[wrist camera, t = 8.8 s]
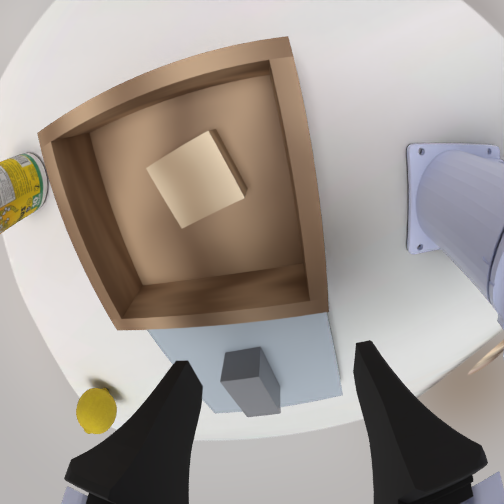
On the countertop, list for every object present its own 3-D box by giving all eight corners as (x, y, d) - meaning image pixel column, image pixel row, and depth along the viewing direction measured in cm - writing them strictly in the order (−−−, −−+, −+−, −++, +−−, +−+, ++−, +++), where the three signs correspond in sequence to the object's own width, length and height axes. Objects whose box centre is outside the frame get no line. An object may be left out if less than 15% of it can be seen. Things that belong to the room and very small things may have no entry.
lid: (316, 270, 20) (328, 320, 15) (339, 376, 26) (346, 419, 21) (155, 308, 22) (132, 354, 18) (218, 395, 28) (211, 435, 24)
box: (282, 59, 13) (288, 36, 8) (316, 266, 19) (328, 311, 15) (84, 123, 15) (37, 133, 10) (142, 289, 21) (117, 330, 17)
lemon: (85, 371, 29) (62, 416, 22) (120, 385, 29) (100, 434, 22) (94, 391, 32) (75, 432, 25) (126, 404, 32) (109, 447, 25)
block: (215, 129, 14) (208, 130, 12) (247, 188, 16) (244, 198, 14) (159, 162, 15) (146, 168, 13) (191, 216, 17) (182, 228, 15)
